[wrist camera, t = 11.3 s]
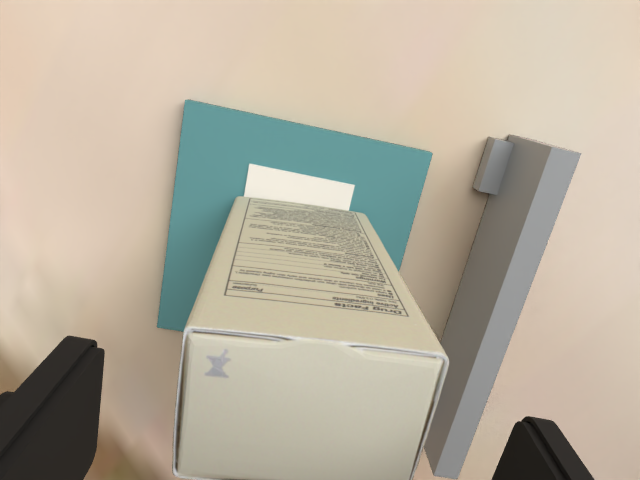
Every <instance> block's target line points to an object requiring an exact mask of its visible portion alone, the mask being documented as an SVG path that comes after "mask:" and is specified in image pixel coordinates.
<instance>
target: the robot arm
mask: <svg viewBox="0 0 640 480" xmlns="http://www.w3.org/2000/svg"><path fill="white" fill-rule="evenodd" d="M103 366H104V349H102V348H97V342H96V341H95V340H91V339H85V338H80V337H74V336H67V337H65V338H64V339H63V340H62V341H61V342H60V344H59V345H58V346H57V347H56V348H55V349H54V350H53V351H52V352H51V353H50V354H49V355H48V356H47V358H46V359H45V360H44V361H43V362H42V363H41V364H40V365H39V366H38V367H37V368H36V369H35V370H34V372H33V373H32V374H31V375H30V376H29V377H28V378H27V379H26V380H25V381H24V382H23V383H22V384H21V385H20V387H19V388H18V389H17V390H16V391H15V392H8V391H7V392H4V393H2V394H1V395H0V480H83V479H84V477H85V475H86V473H87V472H88V470H89V468H90V466H91V464H92V462H93V459H94V456H95V453H96V448H97V437H98V425H99V413H100V402H101V390H102V378H103ZM492 480H594V478H593V477H592V475H591V474H590V473H589V471H588V470H587V468H586V467H585V465H584V464H583V462H582V461H581V460H580V458H579V457H578V455H577V454H576V452H575V451H574V449H573V448H572V446H571V445H570V444H569V442H568V441H567V439H566V438H565V436H564V435H563V433H562V432H561V431H560V429H559V428H558V426H557V425H556V424H555V423H554V422H553V421H551V420H546V419H541V418H535V417H529V416H528V417H525V418H524V419H523V420H522V421H521V422H520V421H519V422H517V423H515V425H514V427H513V430H512V432H511V434H510V437H509V439H508V442H507V444H506V446H505V449H504V451H503V454H502V456H501V458H500V461H499V463H498V466H497V468H496V470H495V473H494V475H493V478H492Z"/></svg>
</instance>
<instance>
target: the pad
mask: <svg viewBox="0 0 640 480" xmlns="http://www.w3.org/2000/svg"><path fill="white" fill-rule="evenodd" d="M432 154H433V153H431V152H429V151H425V150H420V149H416V148H411V147H406V146H402V145H397V144H392V143H388V142H383V141H378V140H374V139H369V138H365V137H360V136H355V135H351V134H346V133H341V132H337V131H332V130H327V129H323V128H318V127H313V126H309V125H304V124H300V123H295V122H290V121H286V120H281V119H276V118H272V117H267V116H262V115H258V114H253V113H248V112H244V111H239V110H235V109H230V108H225V107H221V106H216V105H211V104H207V103H202V102H197V101H193V100H185V106H184V114H183V122H182V130H181V138H180V146H179V154H178V162H177V170H176V178H175V186H174V194H173V202H172V210H171V218H170V227H169V235H168V243H167V251H166V259H165V267H164V275H163V283H162V291H161V299H160V307H159V315H158V323H157V327H158V328H164V329H170V330H176V331H182V332H184V329H185V326H186V323H187V321H188V318H189V315H190V313H191V311H192V308H193V306H194V303H195V301H196V298H197V296H198V293H199V291H200V288H201V286H202V283H203V280H204V278H205V275H206V273H207V270H208V267H209V265H210V262H211V260H212V257H213V254H214V252H215V249H216V246H217V244H218V242H219V239H220V236H221V234H222V231H223V229H224V226H225V224H226V221H227V218H228V216H229V213H230V211H231V208H232V206H233V203H234V201H235V198H236V197H238V196H243V197H252V198H262V199H271V200H279V201H287V202H295V203H302V204H310V205H317V206H323V207H329V208H336V209H342V210H348V211H353V212H359V213H363V214H365V215H366V216H367V218H368V219H369V221H370V223H371V225H372V226H373V228H374V230H375V232H376V233H377V235H378V237H379V238H380V240H381V242H382V244H383V245H384V247H385V249H386V251H387V253H388V254H389V256H390V258H391V259H392V261H393V263H394V264H395V266H396V268H397V270H398V272H399V269H400V266H401V262H402V259H403V255H404V252H405V248H406V245H407V241H408V238H409V234H410V231H411V227H412V224H413V220H414V217H415V213H416V210H417V206H418V203H419V199H420V196H421V192H422V189H423V185H424V182H425V178H426V175H427V171H428V168H429V164H430V161H431V157H432Z"/></svg>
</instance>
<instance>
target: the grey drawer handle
mask: <svg viewBox="0 0 640 480" xmlns="http://www.w3.org/2000/svg"><path fill="white" fill-rule="evenodd" d="M580 155H581V153H578V152H574V151H571V150H567V149H564V148H560V147H557V146H553V145H550V144H546V143H543V142H539V141H536V140H532V139H528V138H523V137H519V136H514V135H510V134H509V137H508V140H507V141H505V140H501V139H496V138H492V137H489V138H488V141H487V144H486V147H485V150H484V153H483V156H482V160H481V163H480V166H479V169H478V172H477V175H476V178H475V182H474V185H473V188H474V189H476V190H477V191H480V192H485V193H490V194H489V197H488V200H487V203H486V206H485V209H484V213H483V216H482V219H481V222H480V225H479V228H478V231H477V234H476V237H475V240H474V243H473V246H472V249H471V252H470V255H469V258H468V261H467V264H466V267H465V270H464V273H463V276H462V279H461V282H460V285H459V288H458V291H457V294H456V297H455V300H454V303H453V306H452V309H451V312H450V315H449V318H448V321H447V324H446V327H445V331H444V334H443V337H442V340H441V343H440V344H441V346H442V348H443V349H444V351H445V353H446V355H447V356H448V359H449V366H448V370H447V374H446V377H445V380H444V383H443V387H442V390H441V394H440V397H439V401H438V404H437V407H436V410H435V413H434V416H433V419H432V422H431V426H430V430H429V432H428V436H427V439H426V442H425V445H424V449H425V452H426V455H427V458H428V461H429V464H430V467H431V470H432V472H433V475H434V476H438V477H445V478H452V479H458V476H459V474H460V471H461V468H462V466H463V463H464V460H465V458H466V455H467V452H468V450H469V447H470V445H471V442H472V439H473V437H474V434H475V431H476V429H477V426H478V424H479V421H480V418H481V416H482V413H483V410H484V408H485V405H486V403H487V400H488V397H489V395H490V392H491V389H492V387H493V384H494V381H495V379H496V376H497V374H498V371H499V368H500V366H501V363H502V360H503V358H504V355H505V353H506V350H507V347H508V345H509V342H510V339H511V337H512V334H513V332H514V329H515V326H516V324H517V321H518V318H519V316H520V313H521V310H522V308H523V305H524V303H525V300H526V297H527V295H528V292H529V289H530V287H531V284H532V282H533V279H534V276H535V274H536V271H537V268H538V266H539V263H540V261H541V258H542V255H543V253H544V250H545V247H546V245H547V242H548V239H549V237H550V234H551V232H552V229H553V226H554V224H555V221H556V218H557V216H558V213H559V211H560V208H561V205H562V203H563V200H564V197H565V195H566V192H567V190H568V187H569V184H570V182H571V179H572V176H573V174H574V171H575V168H576V166H577V163H578V161H579V158H580Z"/></svg>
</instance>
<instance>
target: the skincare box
mask: <svg viewBox="0 0 640 480" xmlns="http://www.w3.org/2000/svg"><path fill="white" fill-rule="evenodd" d="M448 366H449V359H448V356H447V355H446V353H445V351H444V349H443V348H442V346H441V344H440V343H439V341H438V339H437V337H436V336H435V334H434V332H433V330H432V329H431V327H430V325H429V324H428V322H427V321H426V319H425V317H424V315H423V313H422V312H421V310H420V308H419V306H418V305H417V303H416V301H415V299H414V298H413V296H412V294H411V292H410V291H409V289H408V287H407V285H406V284H405V282H404V280H403V278H402V277H401V275H400V273H399V272H398V270H397V268H396V266H395V264H394V263H393V261H392V259H391V258H390V256H389V254H388V253H387V251H386V249H385V247H384V245H383V244H382V242H381V240H380V238H379V237H378V235H377V233H376V232H375V230H374V228H373V226H372V225H371V223H370V221H369V219H368V218H367V216H366V215H365V214H363V213H359V212H353V211H348V210H342V209H336V208H329V207H323V206H317V205H310V204H302V203H295V202H287V201H279V200H271V199H262V198H252V197H243V196H238V197H236V198H235V201H234V203H233V206H232V208H231V211H230V213H229V216H228V218H227V221H226V224H225V226H224V229H223V231H222V234H221V236H220V239H219V242H218V244H217V246H216V249H215V252H214V254H213V257H212V260H211V262H210V265H209V267H208V270H207V273H206V275H205V278H204V280H203V283H202V286H201V288H200V291H199V293H198V296H197V298H196V301H195V303H194V306H193V308H192V311H191V313H190V315H189V318H188V321H187V323H186V326H185V329H184V332H183V341H182V350H181V358H180V366H179V375H178V385H177V396H176V405H175V419H174V434H173V464H172V471H173V475H175V476H176V477H179V478H185V479H196V480H413V477H414V473H415V471H416V468H417V466H418V463H419V460H420V457H421V453H422V450H423V447H424V445H425V442H426V439H427V436H428V432H429V430H430V426H431V422H432V419H433V416H434V413H435V410H436V407H437V404H438V401H439V397H440V394H441V390H442V387H443V383H444V380H445V377H446V374H447V370H448Z"/></svg>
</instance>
